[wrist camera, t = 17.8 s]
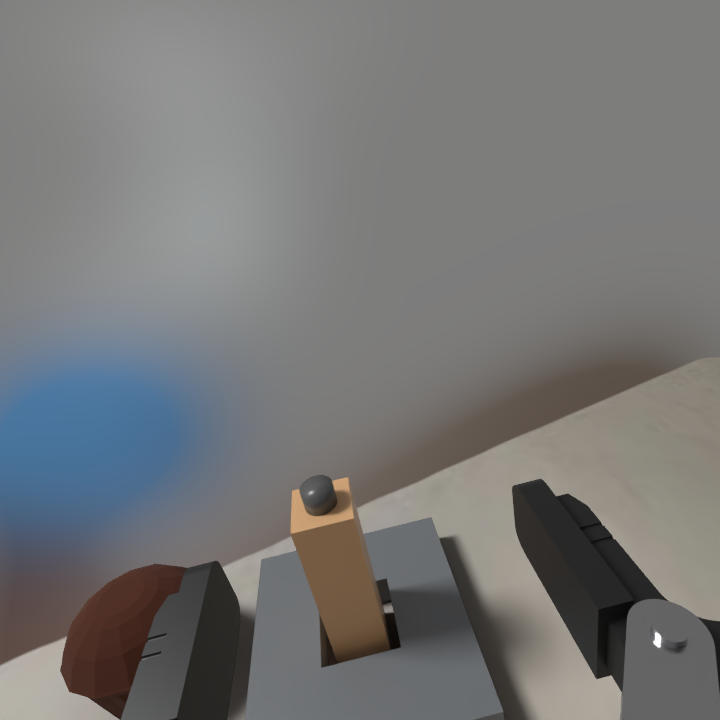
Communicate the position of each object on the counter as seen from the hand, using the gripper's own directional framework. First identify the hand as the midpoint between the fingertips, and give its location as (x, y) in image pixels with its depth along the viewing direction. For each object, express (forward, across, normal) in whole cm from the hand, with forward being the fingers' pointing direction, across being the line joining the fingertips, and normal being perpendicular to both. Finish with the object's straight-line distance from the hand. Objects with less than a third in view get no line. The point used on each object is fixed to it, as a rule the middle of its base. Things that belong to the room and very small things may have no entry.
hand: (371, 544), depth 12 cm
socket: (+16, +4, +29) cm, 33 cm away
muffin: (+18, +22, +29) cm, 41 cm away
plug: (+16, +4, +29) cm, 33 cm away
